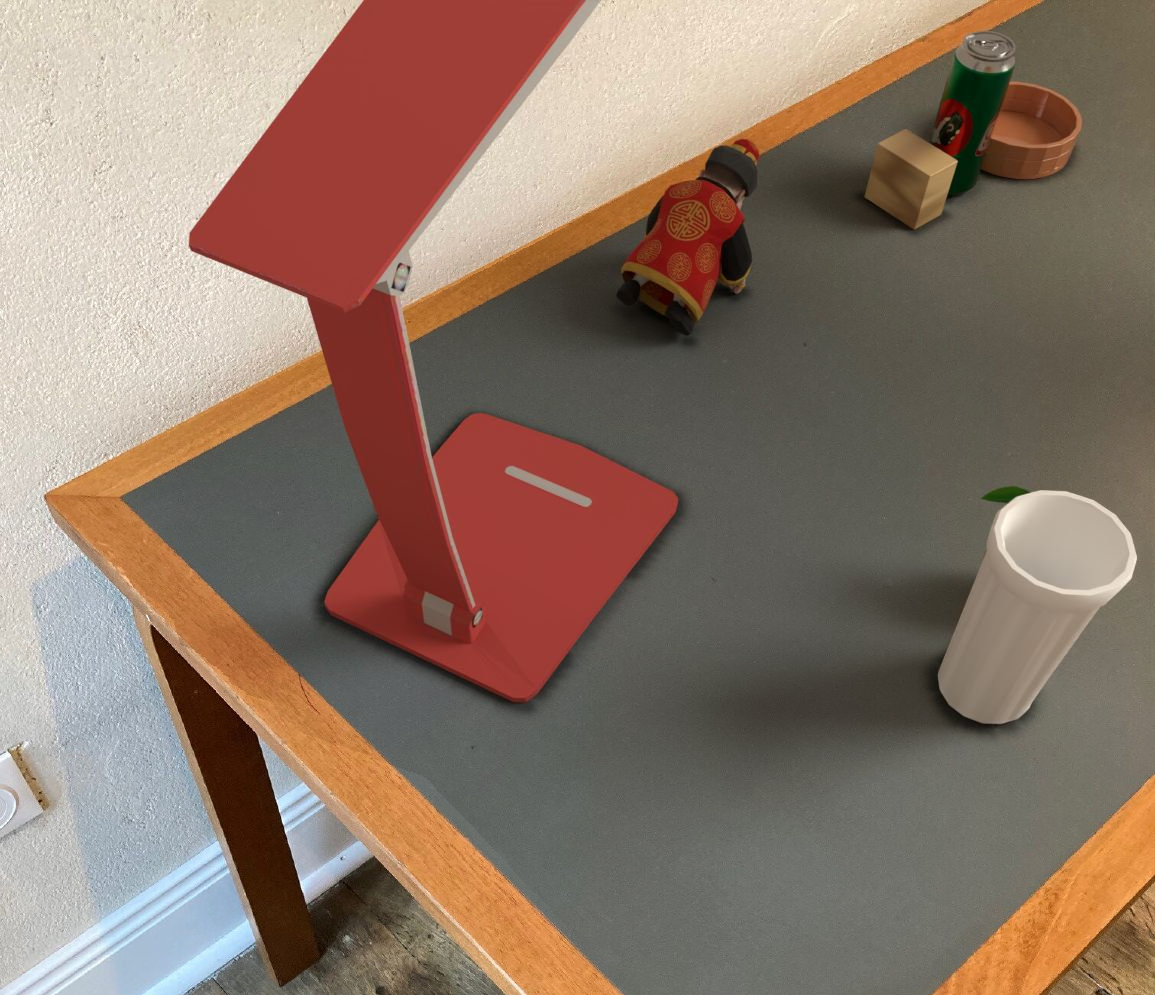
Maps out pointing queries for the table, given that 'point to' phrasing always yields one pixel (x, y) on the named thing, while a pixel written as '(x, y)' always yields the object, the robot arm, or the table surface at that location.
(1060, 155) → the terracotta bowl
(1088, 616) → the cup
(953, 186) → the soda can
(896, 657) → the table surface
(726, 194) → the figurine
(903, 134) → the wooden block
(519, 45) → the desk lamp
